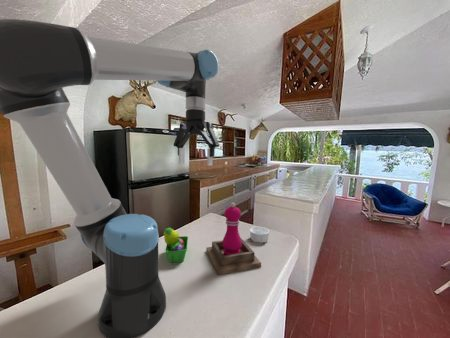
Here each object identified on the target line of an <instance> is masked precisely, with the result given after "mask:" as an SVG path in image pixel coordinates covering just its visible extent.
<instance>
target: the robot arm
mask: <svg viewBox="0 0 450 338" xmlns="http://www.w3.org/2000/svg"><path fill="white" fill-rule="evenodd" d="M219 68H220V67H219V61H218V58H217V56H216V54H215V53H214V52H213V51H212V50H210V49H204V50H199V51H198V52H189V51H182V50H178V49H176V50H175V49H170V48H163V47H158V46H153V45H152V46H151V45H145V44H139V43H133V42H132V43H131V42H126V41H121V40H120V41H119V40H115V39H114V40H113V39H107V38H101V37H95V36H89V35H85V34H84V33H83V32H82V31H81V30H80V29H79V28H78V27H73V26H69V25H68V26H67V25H61V24H56V23H51V22H45V21H44V22H42V21H36V20H29V19H20V18H19V19H17V18H1V19H0V112H1V115H2V117H4V118H6V119H9V120H10V121H12V122H15V123H17V124H19V125H20V127H21V129H22V130H23V132H24V133H25V135H26V136H27V138H28V139H29V141H30V142H31V144H32V146H33V147H34V149H35V150H36V152H37V154H38V155H39V157H40V158H41V160H42V162H43V164H44V165H45V166H46V168H47V170H48V171H49V173H50V175H52V177H53V180H55V182H56V184H57V185H58V187H59V189H60V190H61V191H62V193H63V195H64V196H65V198H66V200H67V201H68V204H69V205H70V206H71V208H72V209H73V211H74V212H75V214H76V215H75V218H74V220H73V225H74V226H75V228H76V229H77V231H78V232H79V234H80V238H81V240H82V243H83V244H84V245H85V247H87V248H88V249H89V250H91V251H92V252H93V253H94V254H95V255H96V256H97V257H98V258H99V260H101V261H102V262H103V263H104V266H105V287H106V288H105V293H104V296H103V299H102V302H101V305H100V308H99V311H98V317H97V318H98V320H97V321H98V330H99V332H100V333H101V334H102V335H103V336H104V337H106V338H135V337H138V336H140V335H142V334H144V333H146V332H147V331H149V330H151V329H152V328H153V327H154V326H156V324H158V322H159V321H160V320H161V319H162V318H163V316H164V314H165V311H166V307H167V296H166V292H165V290H164V287H163V284H162V282H161V278H160V277H159V241H160V240H159V239H160V235H159V229H158V223H157V221H156V220H155V219H154V218H152V217H151V216H149V215H146V214H138V213H127V212H126V210H125V208H124V206H123V204H122V203H121V201H120V199H117V198H113V197H112V196H111V194H110V192H109V191H108V188H107V186H106V185H105V183H104V181H103V180H102V177H101V176H100V173H99V172H98V169H97V168H96V166H95V164H94V162H93V160H92V159H91V156H90V155H89V153H88V151H87V149H86V147H85V145H84V143H83V141H82V140H81V139H82V138H80V136H79V134H78V132H77V130H76V127H75V126H74V124H73V122H72V120H71V119H70V117H69V115H68V111H69V109H70V106H71V102H70V101H69V99H68V97H67V94H66V92H65V91H64V88H66V87H73V86H90V85H91V84H92V83H93V82H94V81H96V80H98V81H99V80H100V81H107V80H108V81H156V82H157V83H158V84H160V85H161V86H164V87H166V88H171V89H174V90H177V91H180V92H183V93H185V109H186V111H185V121H186V123H183V122H181V123H180V124H179V130H178V131H177V135H176V137H175V139H174V143H173V147H176V148H177V156H178V164H179V165H185V164H186V163H185V156H186V155H185V154H186V152H185V147H184V146H185V145H186V144H187V141H189V139H190V138H191V136H193V135H194V136H197V135H198V136H199V135H200V136H201V138H202V139H203V140H204V143H206V145H207V146H208V147H207V152H206V154H207V155H206V157H207V165H206V166H208V167H209V166H213V165H214V164H213V159H214V157H215V149H216V148H219V147H220V142H219V140H218V138H217V135H216V134H215V131H214V129H213V128H214V127H213V123H212V122H210V121H206V122H205V120H206V111H205V110H206V87H207V86H206V83H207V81H209V80H210V79H212V78H215V77H216V75H217V74H218V72H219ZM205 129H206V131H207V132H206V131H205ZM207 133H208V134H207Z"/></svg>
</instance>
